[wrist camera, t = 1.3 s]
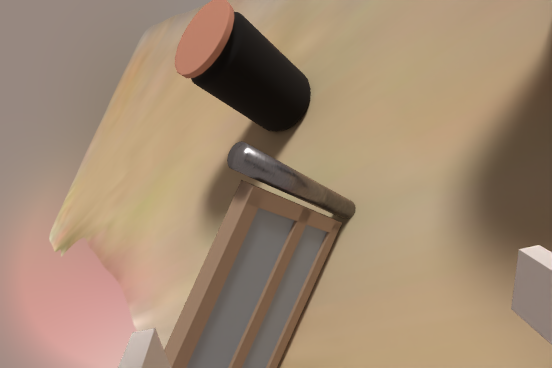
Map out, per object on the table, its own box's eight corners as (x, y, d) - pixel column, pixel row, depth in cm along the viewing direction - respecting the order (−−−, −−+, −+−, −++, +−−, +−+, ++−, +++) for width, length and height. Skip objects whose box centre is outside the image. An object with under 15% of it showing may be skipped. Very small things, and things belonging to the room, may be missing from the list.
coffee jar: (320, 69, 49) (238, -16, 36) (306, 132, 47) (214, 65, 34) (270, 81, 56) (187, 13, 43) (256, 136, 54) (165, 82, 41)
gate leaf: (262, 399, 37) (139, 437, 26) (253, 388, 39) (132, 420, 27) (341, 223, 37) (253, 186, 26) (330, 217, 39) (241, 179, 28)
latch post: (336, 203, 40) (226, 149, 26) (352, 197, 39) (247, 136, 25) (340, 221, 39) (227, 173, 25) (357, 215, 38) (249, 161, 24)
